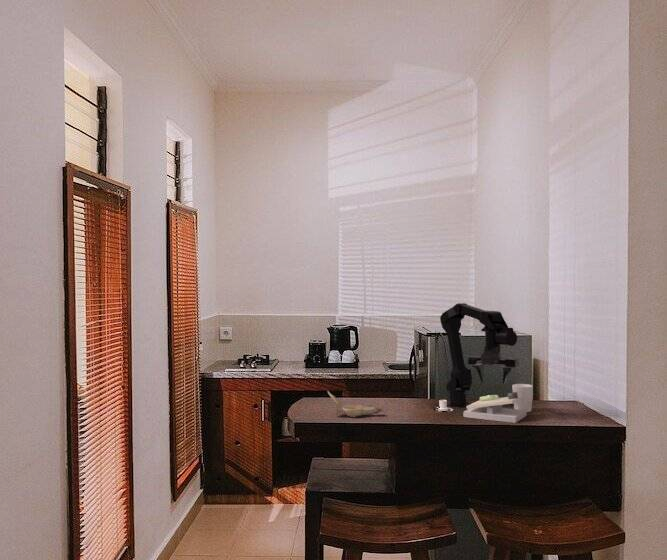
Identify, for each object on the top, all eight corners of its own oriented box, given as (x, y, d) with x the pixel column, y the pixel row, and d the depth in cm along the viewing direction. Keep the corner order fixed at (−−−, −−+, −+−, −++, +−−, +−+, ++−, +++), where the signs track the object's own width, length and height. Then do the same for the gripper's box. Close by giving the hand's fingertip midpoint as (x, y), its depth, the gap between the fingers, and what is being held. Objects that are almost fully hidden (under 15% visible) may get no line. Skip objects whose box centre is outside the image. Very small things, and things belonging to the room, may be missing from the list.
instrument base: (463, 416, 236) (463, 405, 236) (476, 410, 248) (476, 399, 248) (515, 422, 225) (515, 410, 225) (526, 415, 237) (526, 403, 237)
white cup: (510, 411, 245) (510, 386, 245) (514, 407, 252) (514, 383, 252) (531, 413, 242) (530, 387, 242) (534, 409, 248) (534, 384, 249)
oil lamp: (327, 414, 245) (327, 389, 245) (381, 413, 245) (381, 388, 245) (328, 419, 236) (327, 392, 236) (383, 418, 237) (383, 392, 237)
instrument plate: (466, 408, 236) (465, 400, 237) (478, 403, 247) (477, 395, 247) (513, 403, 226) (511, 395, 227) (523, 397, 237) (521, 389, 238)
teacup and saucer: (446, 413, 244) (446, 403, 244) (428, 411, 249) (428, 401, 249) (456, 410, 251) (456, 400, 251) (439, 407, 256) (439, 398, 256)
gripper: (462, 344, 239) (462, 384, 239) (510, 346, 229) (511, 388, 229) (472, 341, 248) (472, 380, 248) (519, 344, 238) (519, 384, 238)
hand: (493, 383), depth 241 cm, fingers open, 8 cm apart
